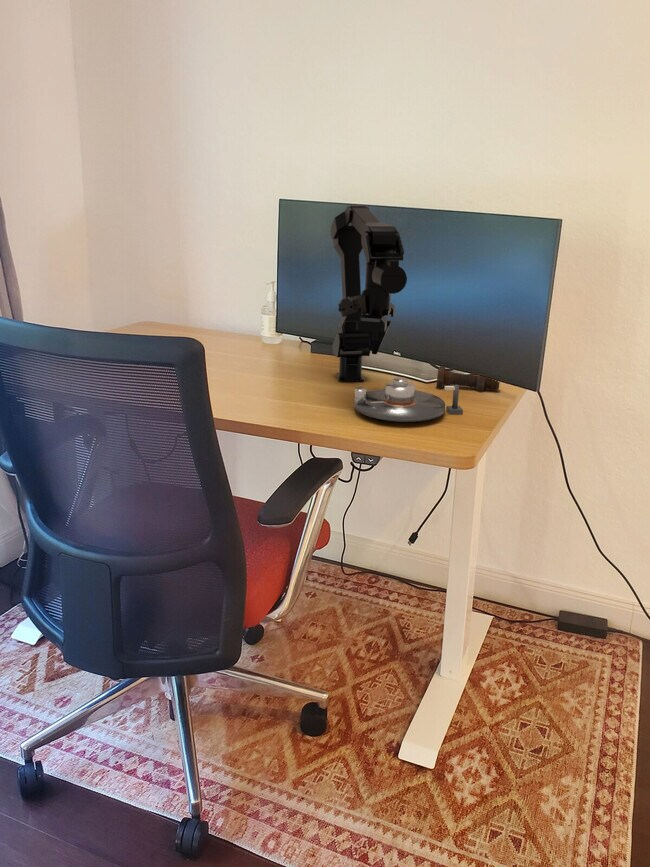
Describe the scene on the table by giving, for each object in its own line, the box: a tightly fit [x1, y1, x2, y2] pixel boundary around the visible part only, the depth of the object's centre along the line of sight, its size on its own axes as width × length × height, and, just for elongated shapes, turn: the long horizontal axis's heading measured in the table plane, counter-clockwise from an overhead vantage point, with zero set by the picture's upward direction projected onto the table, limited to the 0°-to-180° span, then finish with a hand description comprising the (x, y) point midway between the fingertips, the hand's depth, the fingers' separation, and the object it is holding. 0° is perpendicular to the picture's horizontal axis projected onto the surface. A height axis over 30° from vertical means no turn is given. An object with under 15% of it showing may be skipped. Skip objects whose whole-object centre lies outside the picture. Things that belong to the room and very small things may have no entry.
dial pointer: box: [443, 385, 464, 415], centre depth 167 cm, size 3×4×6 cm
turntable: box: [353, 387, 446, 423], centre depth 166 cm, size 20×20×4 cm
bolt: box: [436, 365, 501, 392], centre depth 185 cm, size 6×5×15 cm
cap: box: [384, 376, 416, 406], centre depth 165 cm, size 6×6×5 cm
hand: (374, 353), depth 170 cm, fingers closed
